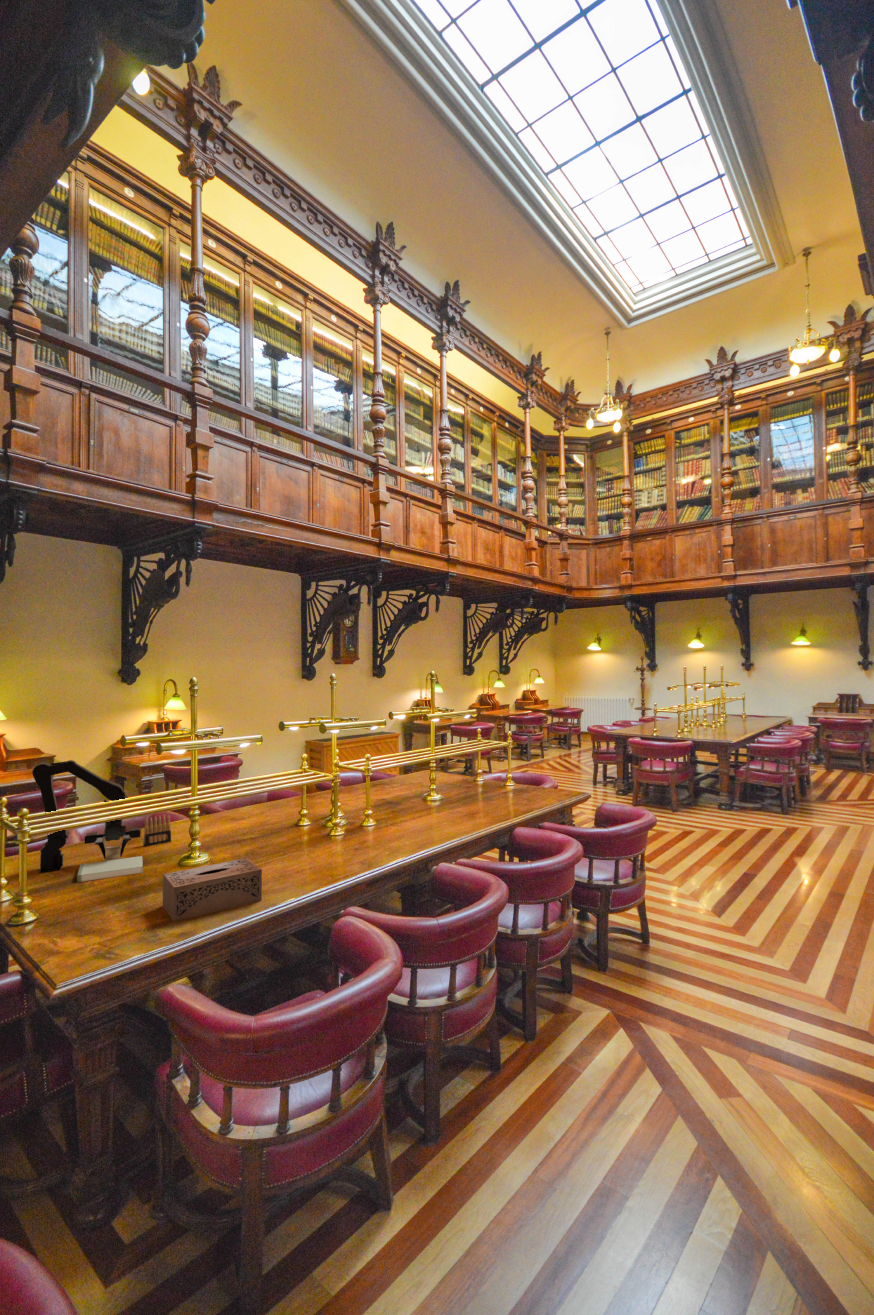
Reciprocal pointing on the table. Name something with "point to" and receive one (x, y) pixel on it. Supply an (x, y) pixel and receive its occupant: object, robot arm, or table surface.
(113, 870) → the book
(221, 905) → the tissue box cover
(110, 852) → the maple block
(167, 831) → the ammunition clip
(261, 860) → the table surface
